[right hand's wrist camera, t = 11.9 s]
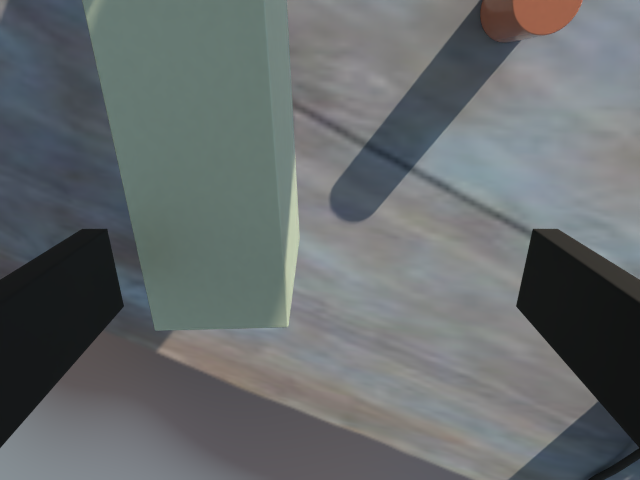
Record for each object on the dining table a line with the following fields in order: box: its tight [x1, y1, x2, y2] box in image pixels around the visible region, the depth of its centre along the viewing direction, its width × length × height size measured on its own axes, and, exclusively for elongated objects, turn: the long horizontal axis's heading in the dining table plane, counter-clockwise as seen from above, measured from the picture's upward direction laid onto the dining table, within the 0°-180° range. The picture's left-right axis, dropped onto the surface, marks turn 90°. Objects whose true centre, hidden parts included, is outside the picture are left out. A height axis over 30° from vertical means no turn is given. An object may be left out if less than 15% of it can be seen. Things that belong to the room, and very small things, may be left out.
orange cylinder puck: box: [480, 0, 583, 43], centre depth 30 cm, size 5×5×6 cm
